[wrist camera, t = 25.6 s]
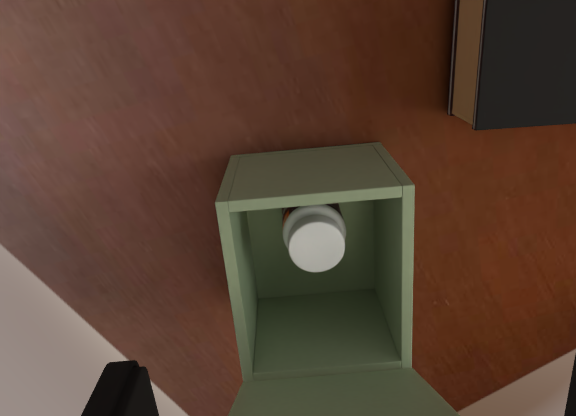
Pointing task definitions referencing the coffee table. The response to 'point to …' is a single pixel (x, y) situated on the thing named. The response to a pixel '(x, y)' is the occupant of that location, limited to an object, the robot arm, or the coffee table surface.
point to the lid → (342, 396)
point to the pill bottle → (314, 235)
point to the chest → (328, 284)
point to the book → (513, 63)
